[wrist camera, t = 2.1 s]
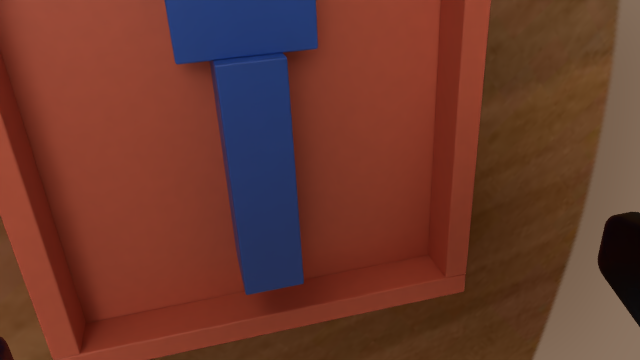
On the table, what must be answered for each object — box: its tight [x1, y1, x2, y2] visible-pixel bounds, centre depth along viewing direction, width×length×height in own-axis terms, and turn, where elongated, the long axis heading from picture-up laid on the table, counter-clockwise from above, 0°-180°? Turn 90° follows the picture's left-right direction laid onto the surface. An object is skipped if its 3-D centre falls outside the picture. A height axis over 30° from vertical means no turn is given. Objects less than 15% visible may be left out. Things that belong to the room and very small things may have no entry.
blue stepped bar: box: [164, 0, 318, 295], centre depth 15 cm, size 11×4×2 cm, turn 3°
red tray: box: [0, 0, 491, 360], centre depth 16 cm, size 16×14×2 cm
